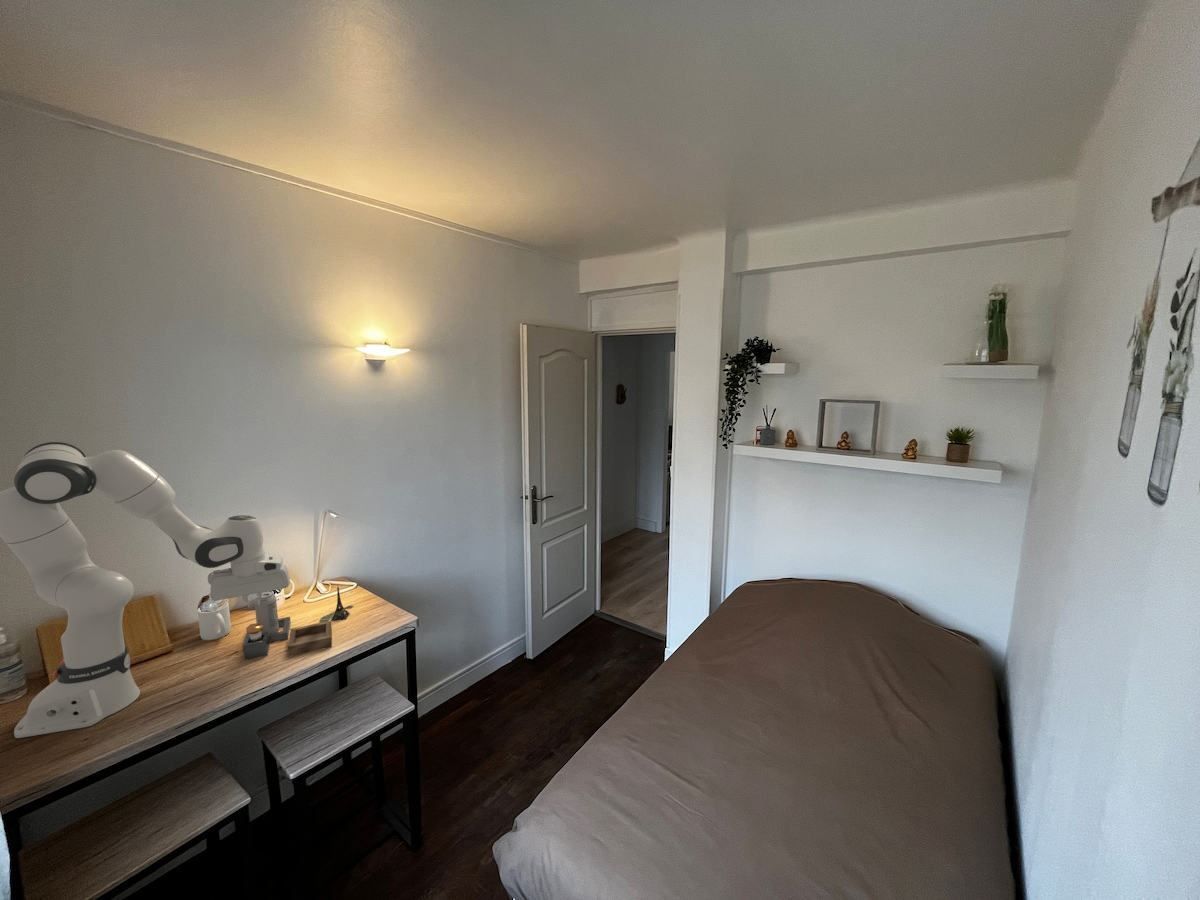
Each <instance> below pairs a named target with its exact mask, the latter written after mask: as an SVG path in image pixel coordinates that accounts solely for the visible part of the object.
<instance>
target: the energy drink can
mask: <svg viewBox="0 0 1200 900" xmlns="http://www.w3.org/2000/svg"><path fill="white" fill-rule="evenodd" d="M255 597H256V598H255V599H257V598H258V596H257V595H256V596H255ZM254 611H255V620H256V623H262V624H263V630H262V631H261V633H266V632H268V634H273V633H277V632H280V627H279V624H278V619H279V616H278V613H279V612H278V604H277V597H276V595H275V594H274V592H273V591H267V592H263V594H262V596H261V598H260V605H259V606H254Z"/></svg>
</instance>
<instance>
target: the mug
mask: <svg viewBox="0 0 1200 900" xmlns="http://www.w3.org/2000/svg"><path fill="white" fill-rule="evenodd" d="M224 601H225V600H224ZM225 603H226V606H225V607H224V608H222V609H219V610H216V611H212V612H201V610H200V607H199V608H197V619H198V620H197V621H198V627H199V633H200V634H199V635H200V638H201V639H202V640H203V641H215V640H218V638H219V639H222V638H224V637H225V635H226V636H227V635H229V634H230V633H231V631H232V624H231V623H232V622H231V614H230V606H229V602H228V601H225ZM228 633H229V634H228ZM221 637H222V638H221ZM214 639H215V640H214Z"/></svg>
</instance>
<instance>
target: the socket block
mask: <svg viewBox="0 0 1200 900" xmlns="http://www.w3.org/2000/svg"><path fill="white" fill-rule="evenodd" d="M256 623H257V622H256ZM256 623H254V624H256ZM252 624H253V623H250V624H249V625H248V626H250V625H252ZM278 624H279V628H282V631H278V632H277V633H273V634H268V632H266V633H261V636H262V640H261V641H257V642H252V643H250V634H248V633H247V632H246V634H245V637H244V640H243V644H242V651H243V659H244V661H249V660H253V659H257V658H262V657H266V656H268V654H269V650H270V644H272V643H278V642H280V641H286V640H289V636H290V630H291V625H292V621H291V616H287V617H282V618H278Z"/></svg>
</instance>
